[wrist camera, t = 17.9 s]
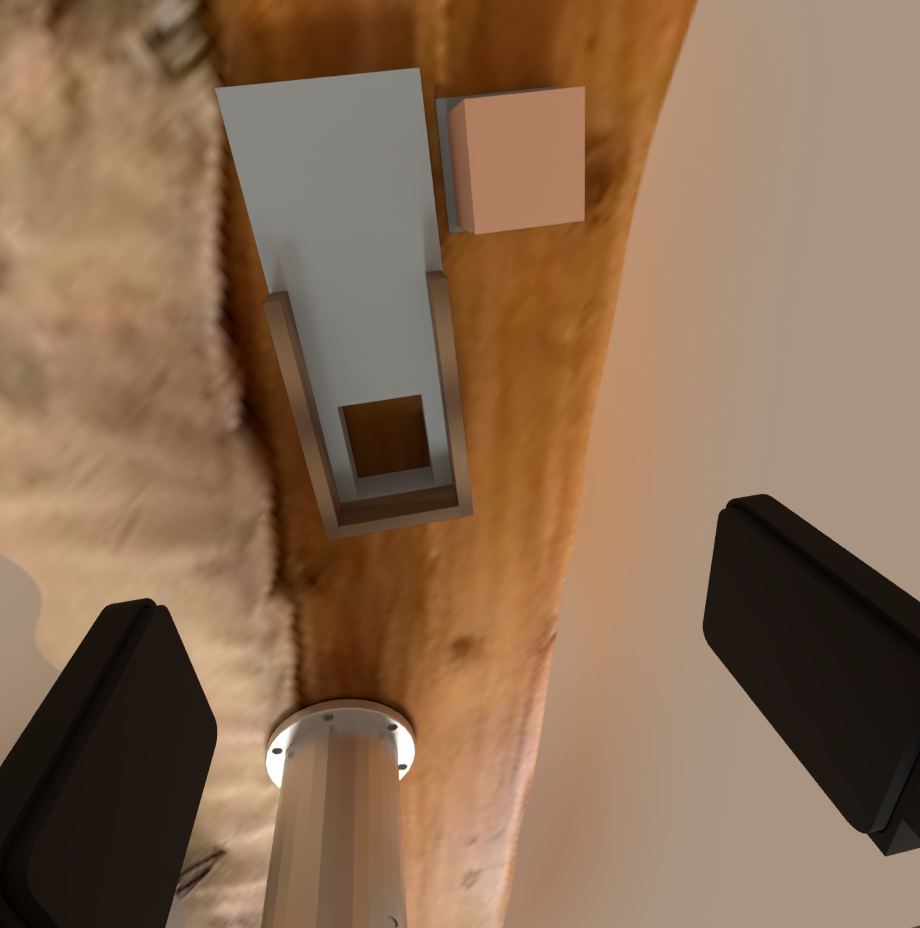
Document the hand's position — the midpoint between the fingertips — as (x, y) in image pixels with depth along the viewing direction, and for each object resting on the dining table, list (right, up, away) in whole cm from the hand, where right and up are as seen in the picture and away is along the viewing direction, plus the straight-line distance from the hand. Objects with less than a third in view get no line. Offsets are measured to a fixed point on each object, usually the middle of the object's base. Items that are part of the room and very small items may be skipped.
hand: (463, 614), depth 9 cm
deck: (-5, +11, +21) cm, 25 cm away
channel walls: (-5, +6, +21) cm, 22 cm away
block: (+2, +18, +18) cm, 26 cm away
